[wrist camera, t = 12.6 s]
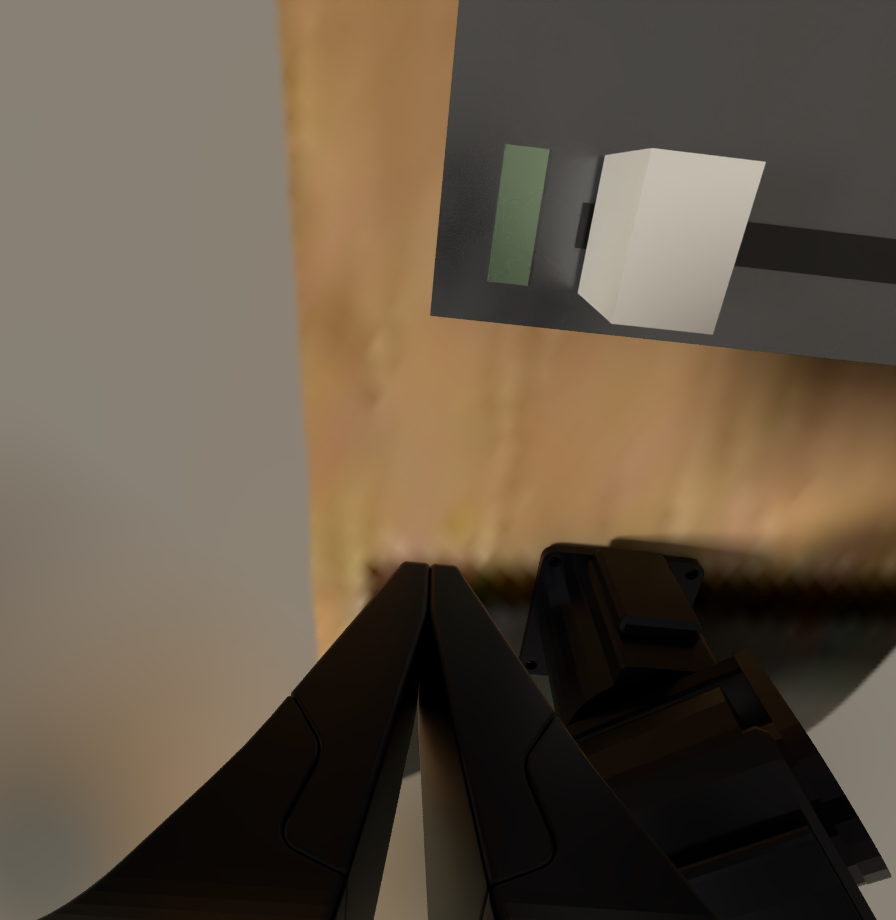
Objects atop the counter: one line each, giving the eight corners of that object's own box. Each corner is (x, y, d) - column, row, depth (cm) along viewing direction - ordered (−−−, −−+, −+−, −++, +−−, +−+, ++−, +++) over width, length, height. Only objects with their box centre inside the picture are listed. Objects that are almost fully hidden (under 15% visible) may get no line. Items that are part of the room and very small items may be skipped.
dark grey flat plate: (984, 365, 20) (1025, 380, 18) (431, 305, 19) (430, 316, 18) (1351, -331, 13) (1464, -394, 11) (503, -469, 12) (510, -558, 11)
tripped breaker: (658, 301, 17) (712, 334, 13) (577, 293, 17) (611, 323, 13) (693, 165, 16) (765, 161, 12) (605, 155, 15) (651, 147, 12)
